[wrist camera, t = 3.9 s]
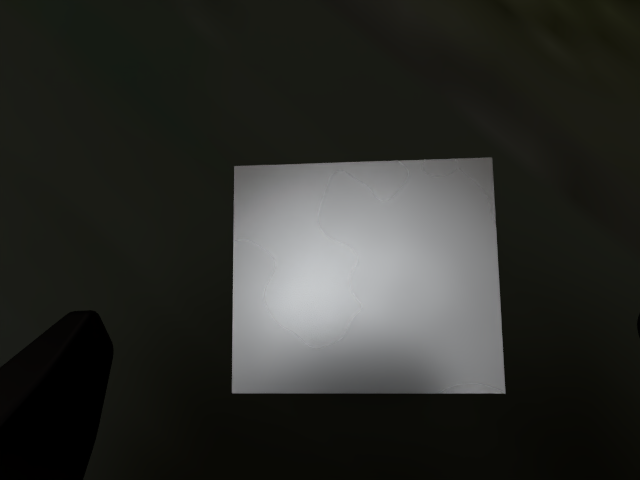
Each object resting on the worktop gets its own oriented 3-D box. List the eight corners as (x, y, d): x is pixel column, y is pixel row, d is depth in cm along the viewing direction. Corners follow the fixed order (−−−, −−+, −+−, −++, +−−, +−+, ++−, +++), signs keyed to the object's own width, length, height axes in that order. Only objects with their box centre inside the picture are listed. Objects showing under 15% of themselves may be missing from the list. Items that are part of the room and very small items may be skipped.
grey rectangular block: (427, 349, 18) (505, 393, 8) (305, 350, 18) (231, 393, 8) (423, 239, 18) (491, 147, 8) (304, 241, 19) (234, 157, 9)
